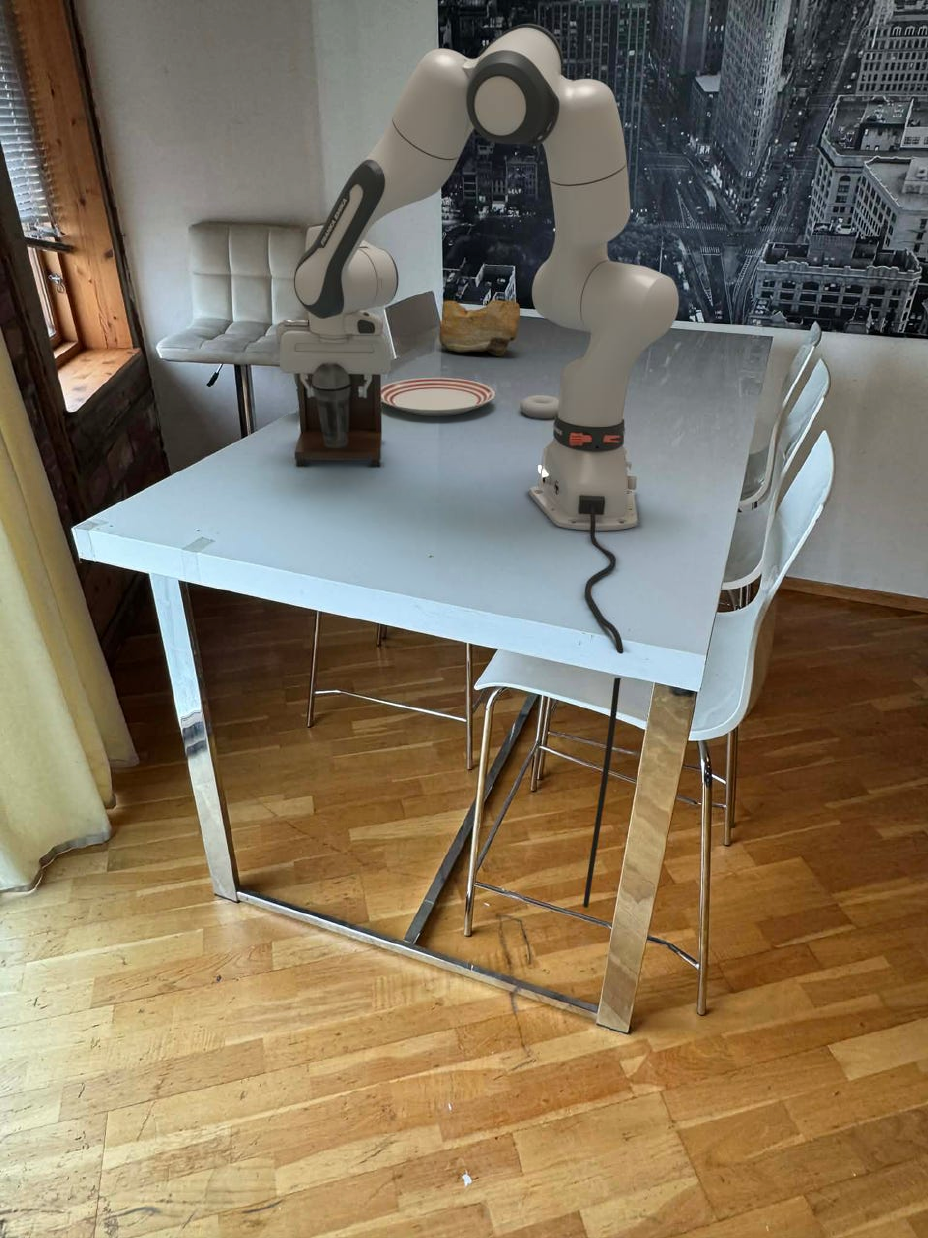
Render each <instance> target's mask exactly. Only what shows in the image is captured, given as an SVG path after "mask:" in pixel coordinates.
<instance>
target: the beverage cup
mask: <svg viewBox="0 0 928 1238" xmlns="http://www.w3.org/2000/svg"><path fill="white" fill-rule="evenodd" d="M350 386H351V382H350V378H349V374H348V373H347V372H346V371H345V370H344V368H342V367H341V366H340V365H338V364H336V363H335V364H333V365H326V364H322V365H320V366H319V367H318V368H317V369H316V371H315V372H314V374H313V378H312V387H313V391H314V395H315V397H316V401H317V407H318V412H319V418H320V424H321V429H322V435H323V439H324V444H325V446H326V447H329V448H341V447H345V446H346V445H348V436H349V396H350V390H351V387H350Z"/></svg>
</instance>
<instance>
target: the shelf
mask: <svg viewBox="0 0 928 1238" xmlns="http://www.w3.org/2000/svg"><path fill="white" fill-rule="evenodd" d="M381 376H382V374H372V381H371V383H370V384H369V386H368V388H367V398H359V392H358V389H359V387H363V385H364V384H365V382H366V380H364V374H349V378H350V382H351V386H350V387H351V390H350V396H349V436H348V445H346V446H345V447H341V448H329V447H326V446H325V444H324V439H323V435H322V429H321V424H320V418H319V412H318V407H317V401H316V397H308V394H307V388H306V387H305V386H304V384H303V382H302V381H301V379H300V373H296V377H297V386H296V389H297V388H298V396H297V401H298V415H299V428H300V433H299V436H298V440H297V443H296V446H295V449H294V460H296V461H295V462H296V467H302V468H303V467H306V465H307V460H338V461H339V460H342V461H346V460H347V461H350V460H354V461H355V460H357V461H359V460H360V461H361V460H364V461H365V460H369V461H371V462H370V467H371V468H380V467H381V459H382V440H383V425H382V423H383V421H382V402H381V388H382V377H381ZM312 378H313V374H309V377H308V381H309V383H310V384H311V386H312Z"/></svg>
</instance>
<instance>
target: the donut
mask: <svg viewBox="0 0 928 1238" xmlns="http://www.w3.org/2000/svg"><path fill="white" fill-rule="evenodd" d="M519 403H520V404H519V407H520V409H519V410H520V411H521V412H522V414H523V415H525V416H527V417H530V418H533V419H543V420H546V419H555V415H556V414H557V413H558V404H559V398H557V397H555V396H551V395H545V394H535V395H529V396H526V397H524V398H523V399H522V400H521V401H520V402H519Z"/></svg>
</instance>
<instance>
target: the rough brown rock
mask: <svg viewBox="0 0 928 1238" xmlns="http://www.w3.org/2000/svg"><path fill="white" fill-rule="evenodd" d="M520 317H521V308H520V304H519V303H518V302H517V301H514V300H499V299H498V300H497V299H495V300H490V301H489V302H488V303H487V305H485V306H484V307H482V308H479V309H478V308H477V309H467V308H466V307H464V306H463V305H461V304H460V303H459V302H458V301H456V300H445V301H443V302H442V305H441V322H440V323H439V333H438V339H439V343H440V344H441V346H443V347H445V348H446V349H447V350H448V351H451V352H455V353H472V352H478V353H482V352H489V353H490V354H491V355H493V356H496V357H502V356H503V355H505V353H506V351H507V348H508V346H509V343H510V342H513V341H515V340H516V337H517V333H518V330H519V326H520Z"/></svg>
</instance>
